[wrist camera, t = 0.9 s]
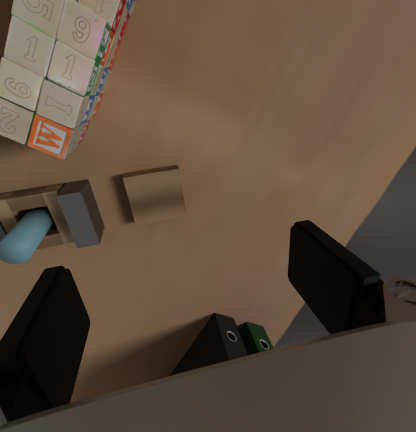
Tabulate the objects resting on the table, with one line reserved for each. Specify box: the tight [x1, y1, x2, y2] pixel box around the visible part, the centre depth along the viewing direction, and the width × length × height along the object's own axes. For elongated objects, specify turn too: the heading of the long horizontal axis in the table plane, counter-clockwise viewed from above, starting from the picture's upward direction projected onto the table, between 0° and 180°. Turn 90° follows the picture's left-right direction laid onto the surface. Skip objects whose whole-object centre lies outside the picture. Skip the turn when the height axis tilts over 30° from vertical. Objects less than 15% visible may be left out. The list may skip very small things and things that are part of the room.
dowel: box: [0, 206, 54, 264], centre depth 33 cm, size 3×3×10 cm
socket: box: [0, 184, 75, 249], centre depth 36 cm, size 8×8×3 cm
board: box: [123, 165, 187, 227], centre depth 39 cm, size 8×8×2 cm
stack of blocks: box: [0, 0, 137, 159], centre depth 25 cm, size 21×6×12 cm, turn 151°
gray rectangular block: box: [56, 180, 104, 248], centre depth 36 cm, size 8×3×5 cm, turn 6°
